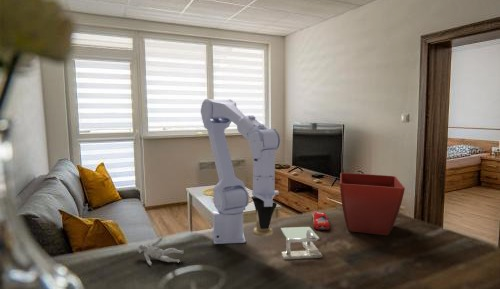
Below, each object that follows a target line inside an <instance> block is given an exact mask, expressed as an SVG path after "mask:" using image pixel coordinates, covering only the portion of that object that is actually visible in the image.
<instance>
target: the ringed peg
mask: <svg viewBox="0 0 500 289" xmlns="http://www.w3.org/2000/svg"><path fill="white" fill-rule="evenodd" d="M255 226H256V227H254V228H253V234H254V235H256V236H259V237H269V236H271V235H273V228H272V227H271V224H270V225H269V228H268V229H261V228H260V224H259V217H258V212H257V215H256V223H255Z"/></svg>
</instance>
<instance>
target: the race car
mask: <svg viewBox="0 0 500 289" xmlns="http://www.w3.org/2000/svg"><path fill="white" fill-rule="evenodd" d="M329 220H330V218H329V217H327V214H326V212H324V211H313V212H312V215H311V221H312V225H313V229H314V230H320V231H327V230H330V222H329Z"/></svg>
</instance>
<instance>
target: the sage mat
mask: <svg viewBox="0 0 500 289" xmlns="http://www.w3.org/2000/svg"><path fill="white" fill-rule="evenodd" d="M307 230H310V231H311V232H312V233H313V234H314V236H315V237H316V238H317V241H318V240H320V237H319V236H318V234H317V233H315V231H314V230H313V229H312V228H311V227H310V226H298V227H297V226H295V227H294V226H293V227H292V226H291V227H290V226H289V227H280V231H281V232H282V234H283V236H284V237H285V239H286V240H287V239H294V238H306V233H307Z"/></svg>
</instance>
